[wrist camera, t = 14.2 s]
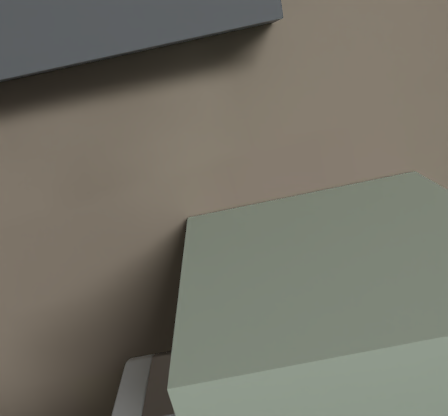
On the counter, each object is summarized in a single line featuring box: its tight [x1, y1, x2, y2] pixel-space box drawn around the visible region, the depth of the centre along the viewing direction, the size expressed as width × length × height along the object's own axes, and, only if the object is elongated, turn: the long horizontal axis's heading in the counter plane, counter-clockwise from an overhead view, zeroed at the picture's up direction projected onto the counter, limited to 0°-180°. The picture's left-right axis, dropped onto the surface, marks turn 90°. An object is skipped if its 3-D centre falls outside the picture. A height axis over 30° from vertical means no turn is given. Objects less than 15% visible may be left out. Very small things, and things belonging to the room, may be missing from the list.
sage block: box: [167, 171, 448, 416], centre depth 8 cm, size 5×5×5 cm
